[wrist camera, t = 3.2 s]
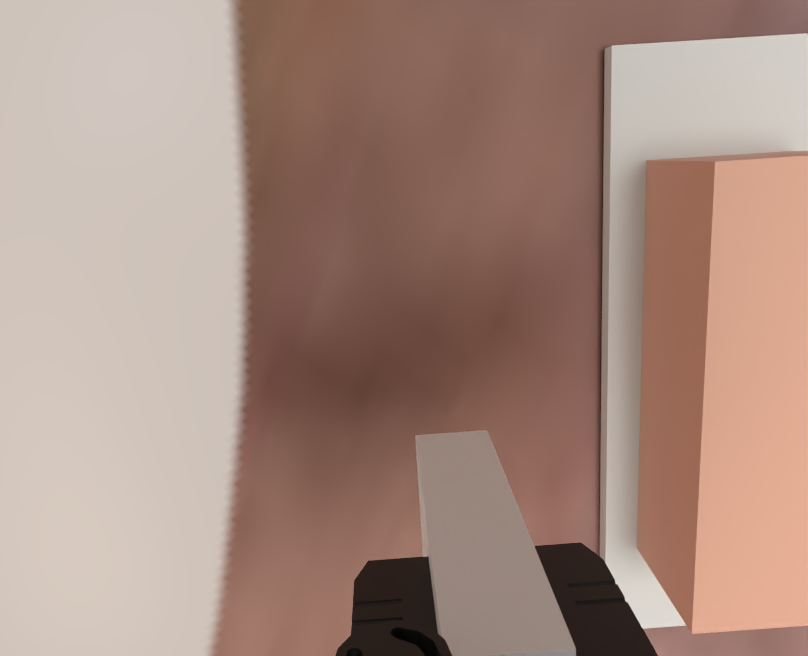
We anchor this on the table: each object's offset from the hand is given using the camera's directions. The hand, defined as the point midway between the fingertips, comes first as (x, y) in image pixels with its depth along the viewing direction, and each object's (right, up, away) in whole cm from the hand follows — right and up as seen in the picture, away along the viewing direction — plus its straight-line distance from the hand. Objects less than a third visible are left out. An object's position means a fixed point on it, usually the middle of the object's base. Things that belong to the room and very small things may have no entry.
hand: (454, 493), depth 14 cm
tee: (+12, +3, +6) cm, 14 cm away
